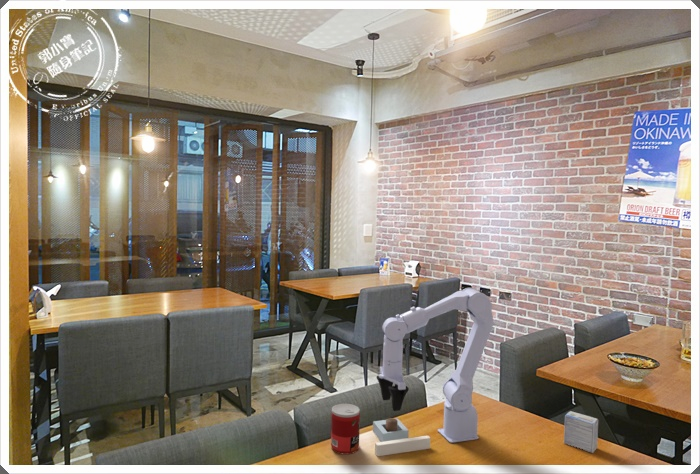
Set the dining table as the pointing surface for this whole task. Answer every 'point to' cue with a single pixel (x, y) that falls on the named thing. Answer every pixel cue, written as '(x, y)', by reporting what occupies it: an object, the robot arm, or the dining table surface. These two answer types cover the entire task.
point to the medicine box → (581, 431)
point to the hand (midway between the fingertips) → (391, 404)
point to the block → (383, 435)
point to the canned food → (345, 428)
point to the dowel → (391, 424)
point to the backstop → (402, 445)
